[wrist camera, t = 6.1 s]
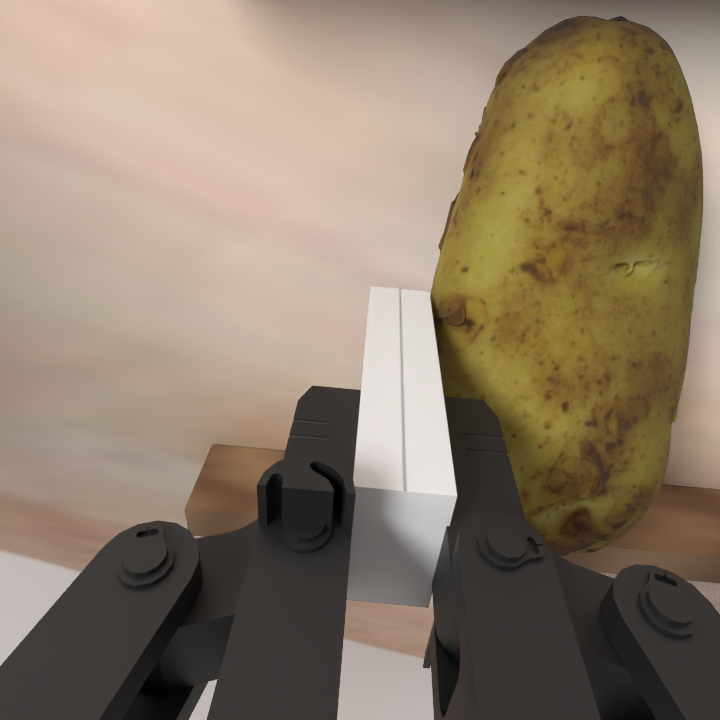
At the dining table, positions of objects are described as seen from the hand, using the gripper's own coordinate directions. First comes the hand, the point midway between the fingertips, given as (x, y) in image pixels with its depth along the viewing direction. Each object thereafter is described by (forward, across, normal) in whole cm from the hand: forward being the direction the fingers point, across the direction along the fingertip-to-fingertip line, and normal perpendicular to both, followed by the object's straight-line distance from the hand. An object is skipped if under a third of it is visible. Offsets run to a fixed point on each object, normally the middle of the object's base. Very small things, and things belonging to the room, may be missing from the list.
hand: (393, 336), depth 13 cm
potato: (+5, +4, 0) cm, 7 cm away
